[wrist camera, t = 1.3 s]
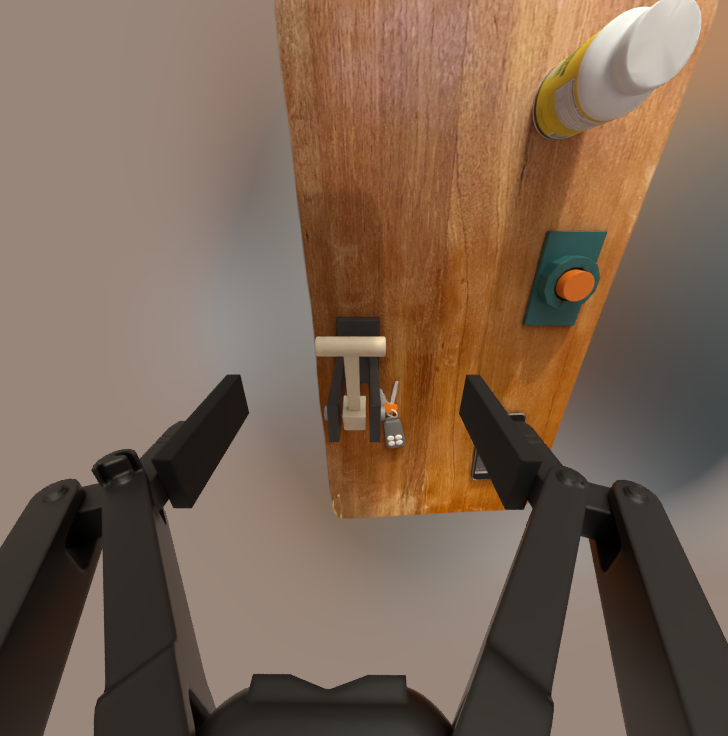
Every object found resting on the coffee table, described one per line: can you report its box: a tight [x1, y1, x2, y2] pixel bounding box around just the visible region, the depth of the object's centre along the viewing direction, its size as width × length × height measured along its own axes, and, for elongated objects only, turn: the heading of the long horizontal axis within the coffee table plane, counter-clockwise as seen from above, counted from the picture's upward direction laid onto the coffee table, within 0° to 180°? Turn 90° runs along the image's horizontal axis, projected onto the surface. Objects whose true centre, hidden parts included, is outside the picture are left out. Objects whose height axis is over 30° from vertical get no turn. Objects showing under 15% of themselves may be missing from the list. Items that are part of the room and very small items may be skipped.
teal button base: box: [523, 231, 607, 325], centre depth 37 cm, size 12×7×2 cm, turn 0°
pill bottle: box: [533, 0, 701, 141], centre depth 25 cm, size 6×6×12 cm
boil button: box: [555, 269, 595, 301], centre depth 35 cm, size 4×4×2 cm
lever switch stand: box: [324, 317, 385, 442], centre depth 35 cm, size 10×6×18 cm, turn 0°
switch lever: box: [315, 337, 386, 430], centre depth 25 cm, size 12×5×2 cm, turn 0°
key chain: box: [380, 381, 405, 448], centre depth 48 cm, size 13×4×2 cm, turn 10°
